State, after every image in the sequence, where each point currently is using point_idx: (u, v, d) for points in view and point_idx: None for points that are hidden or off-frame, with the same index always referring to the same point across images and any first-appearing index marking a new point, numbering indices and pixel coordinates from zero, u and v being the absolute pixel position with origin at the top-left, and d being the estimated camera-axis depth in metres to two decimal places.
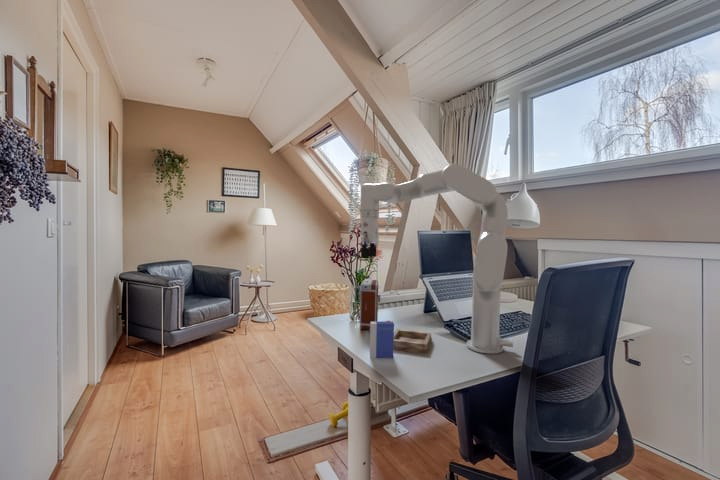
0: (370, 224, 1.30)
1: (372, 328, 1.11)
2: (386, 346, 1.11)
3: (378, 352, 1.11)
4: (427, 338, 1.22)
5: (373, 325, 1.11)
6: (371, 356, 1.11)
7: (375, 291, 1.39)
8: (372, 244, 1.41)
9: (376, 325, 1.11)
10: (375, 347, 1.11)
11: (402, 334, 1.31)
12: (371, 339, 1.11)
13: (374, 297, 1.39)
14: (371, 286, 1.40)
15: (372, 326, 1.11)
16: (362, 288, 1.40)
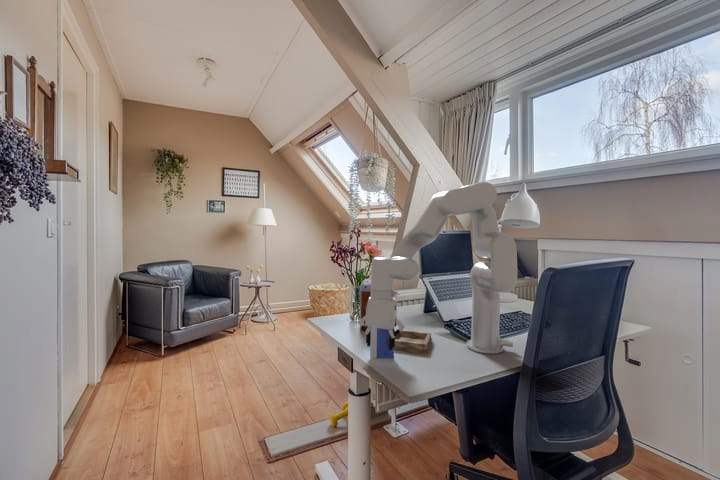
0: None
1: (372, 328, 1.10)
2: (386, 346, 1.11)
3: (378, 352, 1.11)
4: (427, 338, 1.22)
5: (373, 325, 1.10)
6: (371, 356, 1.11)
7: None
8: None
9: None
10: (375, 347, 1.11)
11: (402, 334, 1.31)
12: (372, 339, 1.11)
13: None
14: None
15: (372, 326, 1.10)
16: (362, 288, 1.40)
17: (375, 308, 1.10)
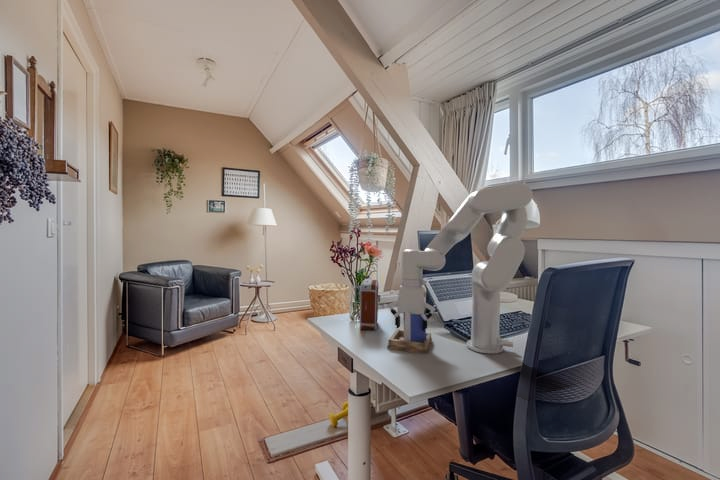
0: None
1: (406, 315, 1.22)
2: (419, 331, 1.23)
3: (412, 337, 1.23)
4: (427, 338, 1.22)
5: (407, 313, 1.22)
6: None
7: (375, 291, 1.39)
8: None
9: None
10: (409, 333, 1.23)
11: (402, 334, 1.31)
12: (406, 325, 1.22)
13: (374, 297, 1.39)
14: (371, 286, 1.40)
15: (406, 314, 1.22)
16: (362, 288, 1.40)
17: (406, 295, 1.22)
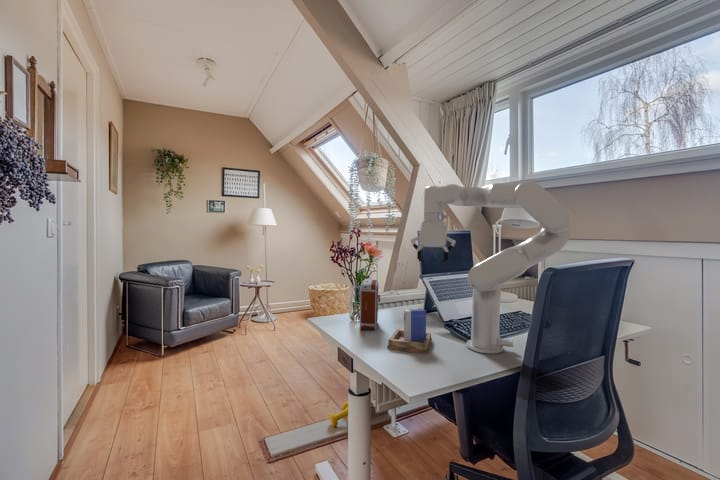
0: None
1: (407, 315, 1.22)
2: (419, 331, 1.23)
3: (412, 337, 1.23)
4: (427, 338, 1.22)
5: (408, 312, 1.22)
6: None
7: (375, 291, 1.39)
8: None
9: (410, 312, 1.23)
10: (410, 332, 1.23)
11: (402, 334, 1.31)
12: (406, 325, 1.22)
13: (374, 297, 1.39)
14: (371, 286, 1.40)
15: (407, 313, 1.22)
16: (362, 288, 1.40)
17: (429, 229, 1.29)
